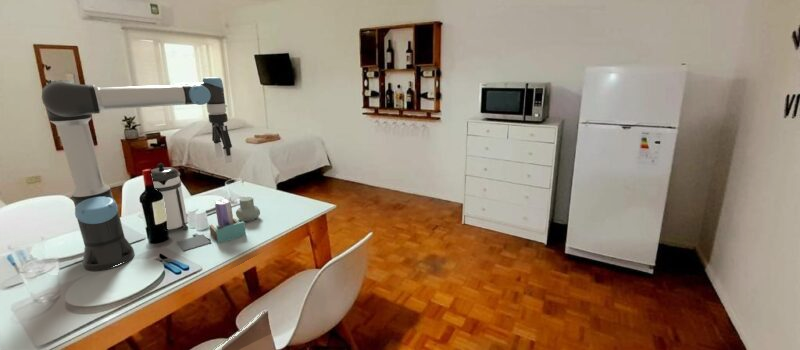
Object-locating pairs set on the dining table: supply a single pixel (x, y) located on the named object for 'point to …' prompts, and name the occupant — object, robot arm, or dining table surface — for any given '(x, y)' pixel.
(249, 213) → the air freshener
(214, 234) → the holder
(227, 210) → the beverage can
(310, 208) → the dining table surface
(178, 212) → the coffee press
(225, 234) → the teal box
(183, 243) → the mat
